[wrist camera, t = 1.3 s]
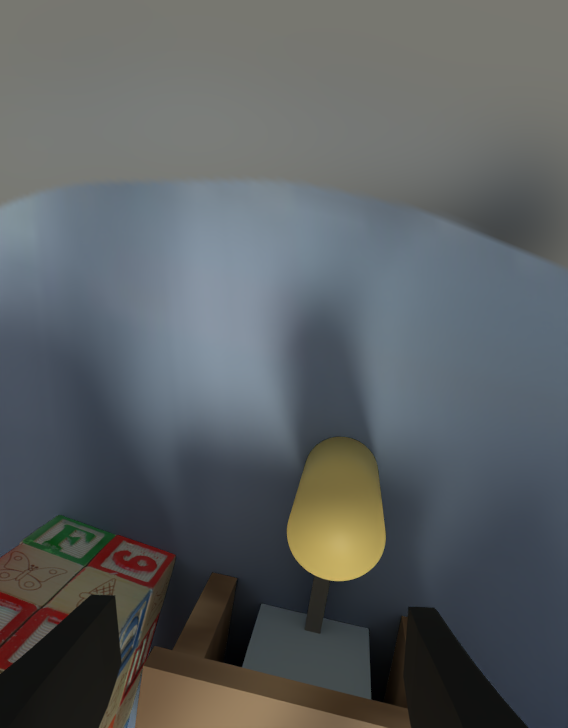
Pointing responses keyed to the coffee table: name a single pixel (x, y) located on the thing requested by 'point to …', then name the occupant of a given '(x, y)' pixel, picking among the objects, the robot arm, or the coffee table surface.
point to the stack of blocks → (83, 595)
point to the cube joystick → (326, 571)
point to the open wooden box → (249, 683)
